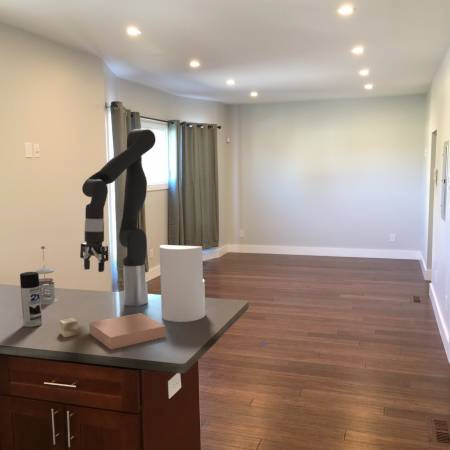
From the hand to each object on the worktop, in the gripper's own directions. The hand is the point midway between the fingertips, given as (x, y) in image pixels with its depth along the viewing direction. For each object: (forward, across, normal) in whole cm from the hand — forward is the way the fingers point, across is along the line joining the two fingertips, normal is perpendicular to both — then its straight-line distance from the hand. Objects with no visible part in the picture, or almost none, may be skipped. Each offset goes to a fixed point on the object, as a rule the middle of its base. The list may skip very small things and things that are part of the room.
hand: (93, 270), depth 201 cm
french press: (+18, +36, -2) cm, 41 cm away
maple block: (+20, -11, +20) cm, 30 cm away
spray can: (+20, +10, +21) cm, 30 cm away
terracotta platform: (+18, -29, +9) cm, 36 cm away
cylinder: (+17, -30, -20) cm, 40 cm away
